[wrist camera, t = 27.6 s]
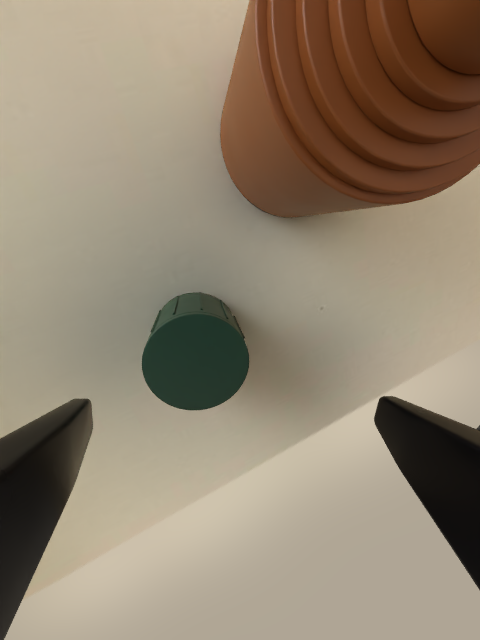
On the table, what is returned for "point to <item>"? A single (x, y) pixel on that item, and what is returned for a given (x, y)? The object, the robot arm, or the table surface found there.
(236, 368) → the cap
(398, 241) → the table surface
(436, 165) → the bottle
